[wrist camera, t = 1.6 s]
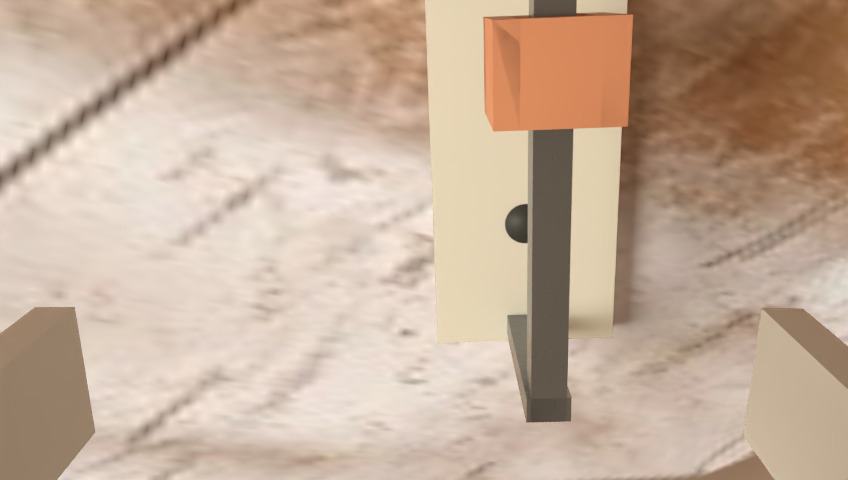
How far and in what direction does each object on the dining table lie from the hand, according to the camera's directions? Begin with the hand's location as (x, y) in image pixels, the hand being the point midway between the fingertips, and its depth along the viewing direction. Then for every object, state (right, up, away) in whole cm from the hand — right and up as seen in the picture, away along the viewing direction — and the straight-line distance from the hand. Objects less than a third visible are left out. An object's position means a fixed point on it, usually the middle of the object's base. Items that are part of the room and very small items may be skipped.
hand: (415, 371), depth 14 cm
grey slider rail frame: (+5, +8, +24) cm, 26 cm away
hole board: (+5, +10, +25) cm, 28 cm away
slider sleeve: (+5, +12, +22) cm, 26 cm away
